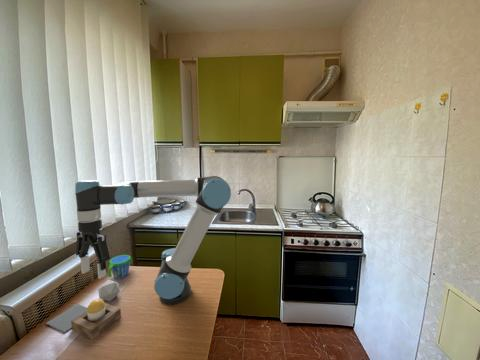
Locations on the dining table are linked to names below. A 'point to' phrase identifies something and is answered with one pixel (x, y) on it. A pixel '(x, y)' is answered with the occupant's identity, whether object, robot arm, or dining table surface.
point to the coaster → (66, 318)
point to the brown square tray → (94, 329)
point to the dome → (96, 310)
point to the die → (109, 290)
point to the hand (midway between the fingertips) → (93, 274)
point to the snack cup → (119, 266)
